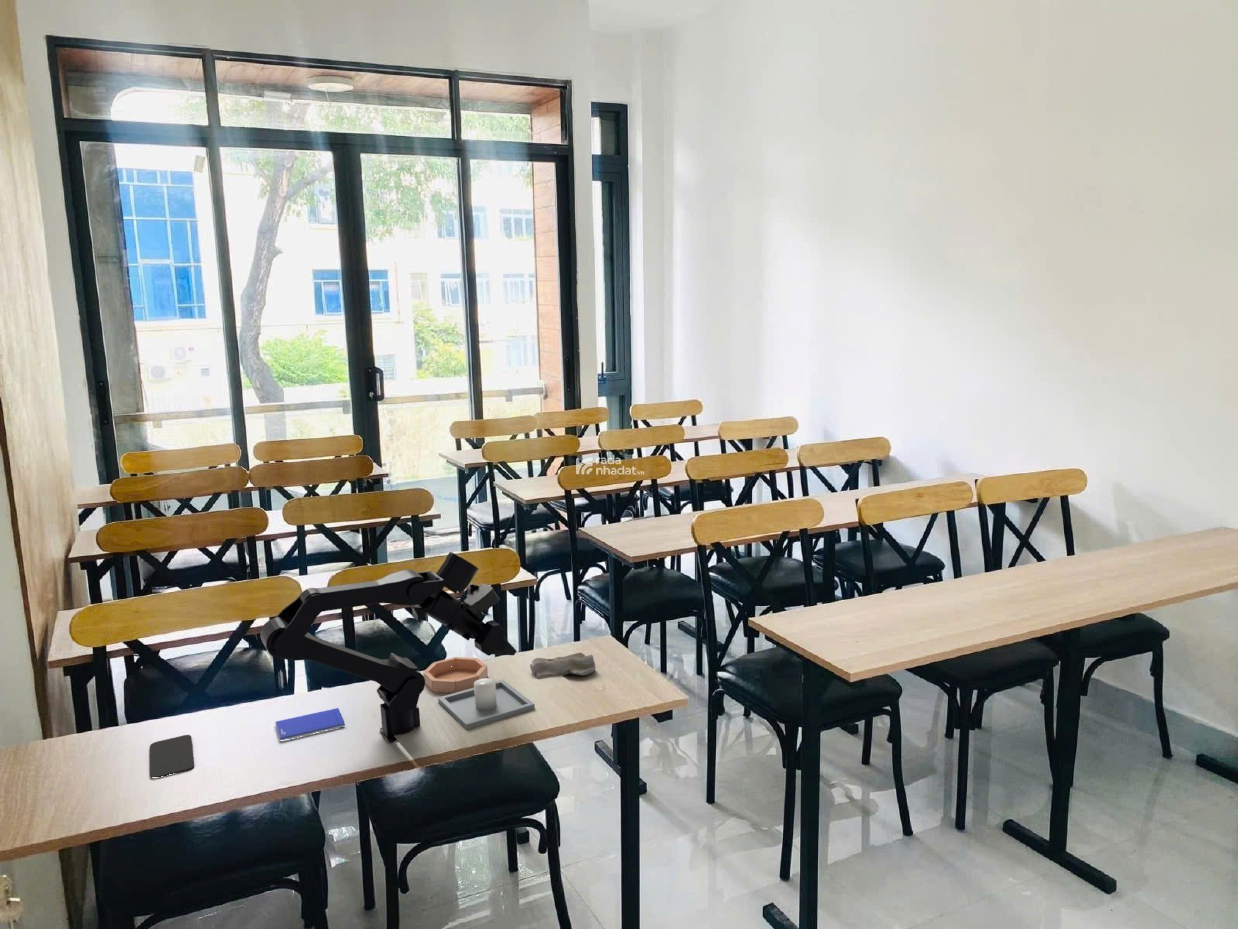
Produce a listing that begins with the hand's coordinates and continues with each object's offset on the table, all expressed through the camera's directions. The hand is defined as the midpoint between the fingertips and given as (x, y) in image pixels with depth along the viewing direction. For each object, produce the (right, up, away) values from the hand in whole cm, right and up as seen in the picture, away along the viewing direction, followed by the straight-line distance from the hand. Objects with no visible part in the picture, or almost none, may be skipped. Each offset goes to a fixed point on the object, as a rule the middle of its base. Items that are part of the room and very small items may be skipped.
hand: (505, 646), depth 182 cm
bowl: (-13, -11, +12) cm, 21 cm away
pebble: (-4, -12, -1) cm, 13 cm away
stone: (+11, -10, +17) cm, 22 cm away
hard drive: (-39, -16, -5) cm, 42 cm away
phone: (-62, -18, -16) cm, 66 cm away
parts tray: (-4, -13, -1) cm, 14 cm away
